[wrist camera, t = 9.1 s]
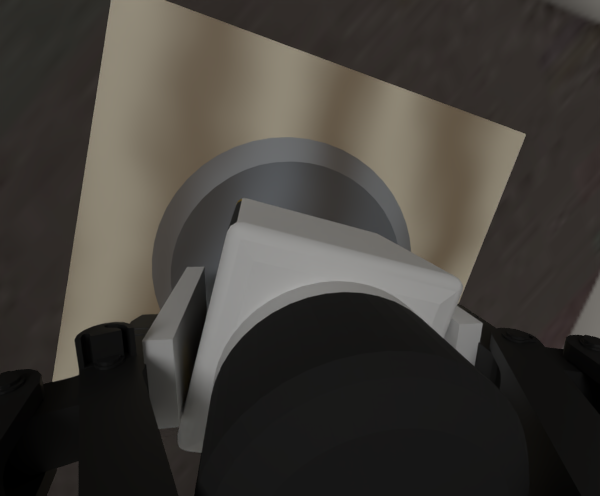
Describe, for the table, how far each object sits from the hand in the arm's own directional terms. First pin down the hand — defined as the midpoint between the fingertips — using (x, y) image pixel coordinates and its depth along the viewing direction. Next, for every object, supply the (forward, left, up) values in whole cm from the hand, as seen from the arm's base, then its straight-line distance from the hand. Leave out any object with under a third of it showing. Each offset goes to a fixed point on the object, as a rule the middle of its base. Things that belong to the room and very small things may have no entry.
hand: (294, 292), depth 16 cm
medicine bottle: (0, 0, -1) cm, 1 cm away
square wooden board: (0, 0, -4) cm, 4 cm away
